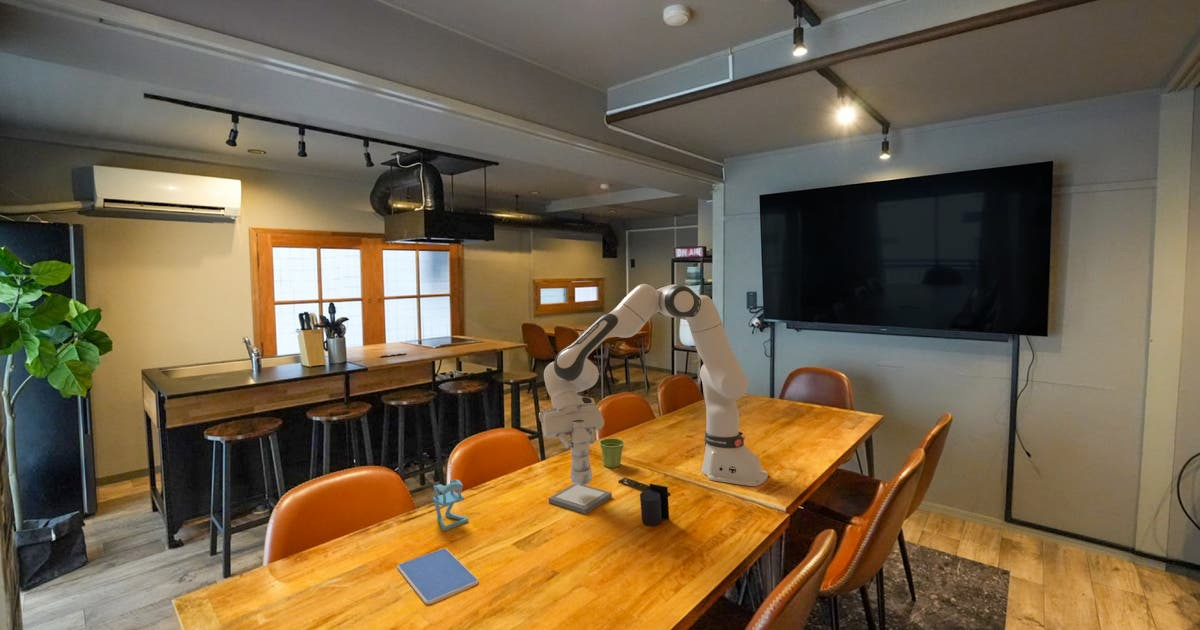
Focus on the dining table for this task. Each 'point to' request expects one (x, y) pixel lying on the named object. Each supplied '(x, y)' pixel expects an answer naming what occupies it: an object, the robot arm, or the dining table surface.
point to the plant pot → (611, 451)
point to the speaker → (654, 505)
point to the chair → (448, 502)
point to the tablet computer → (437, 576)
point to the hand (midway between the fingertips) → (580, 445)
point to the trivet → (580, 498)
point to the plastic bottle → (580, 454)
